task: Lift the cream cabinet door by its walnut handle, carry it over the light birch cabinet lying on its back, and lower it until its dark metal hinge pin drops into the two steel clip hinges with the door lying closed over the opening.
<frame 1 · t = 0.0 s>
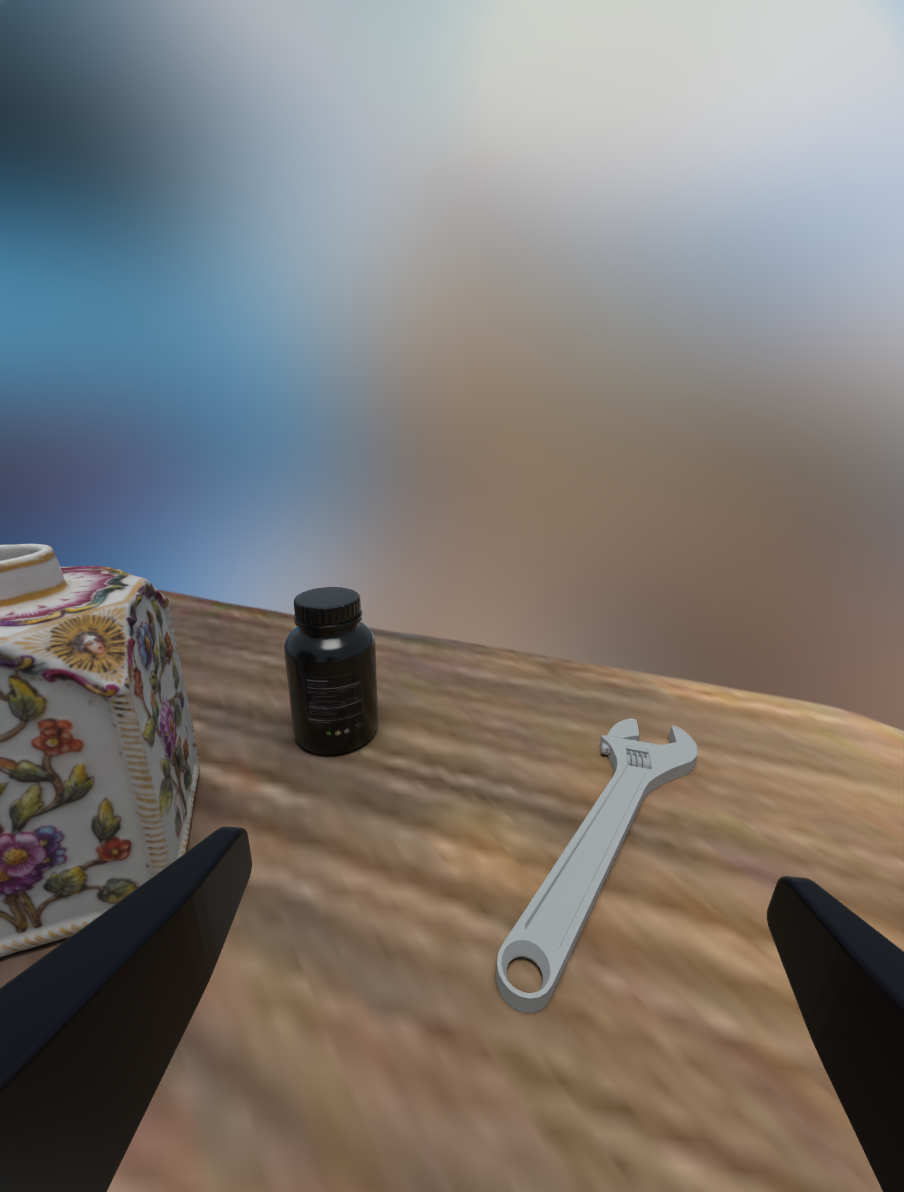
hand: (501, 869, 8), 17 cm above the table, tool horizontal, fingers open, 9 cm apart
decorative jar: (81, 856, 27), on the table
adjustable wrench: (598, 825, 30), on the table
supplement bottle: (336, 733, 38), on the table
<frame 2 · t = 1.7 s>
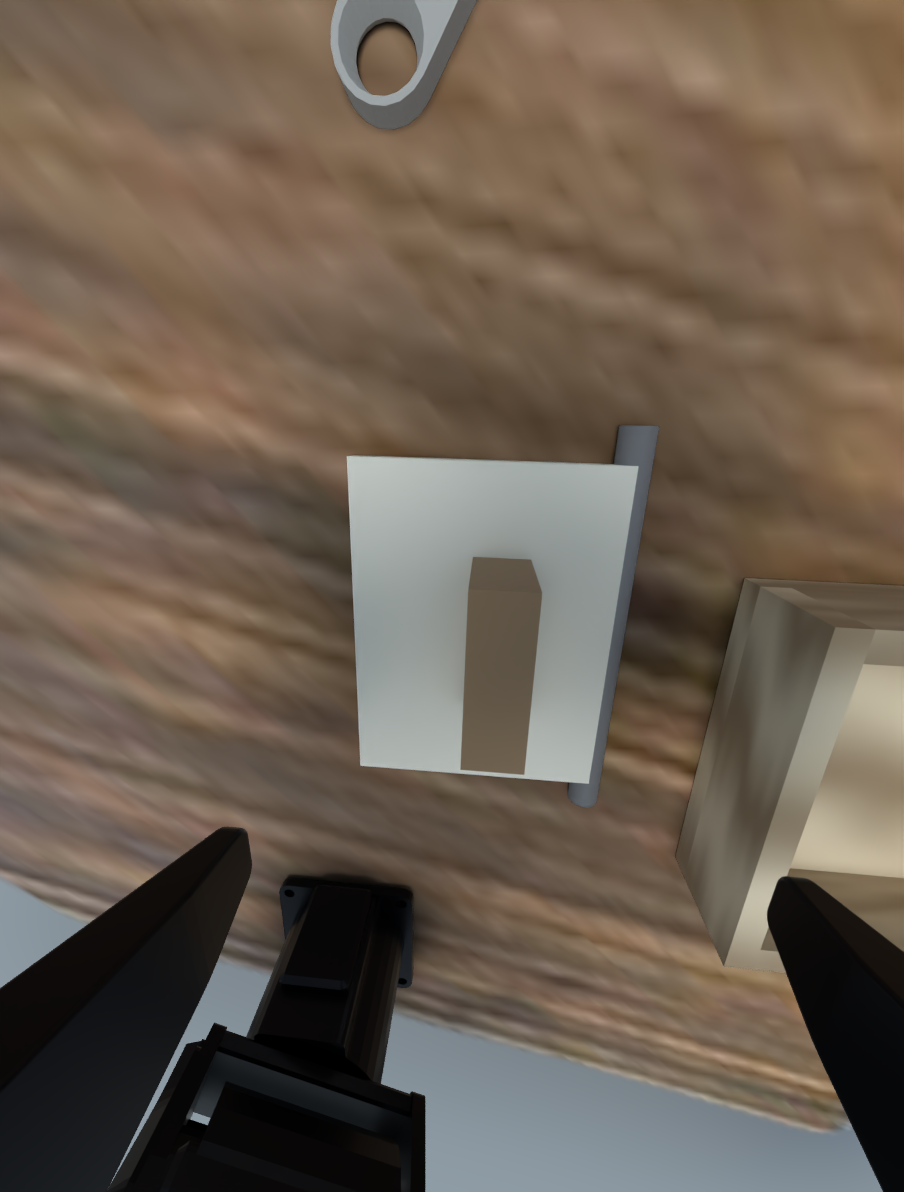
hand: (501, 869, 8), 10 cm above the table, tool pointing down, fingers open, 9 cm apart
cabinet door: (485, 624, 18), on the table
cabinet: (837, 742, 18), on the table
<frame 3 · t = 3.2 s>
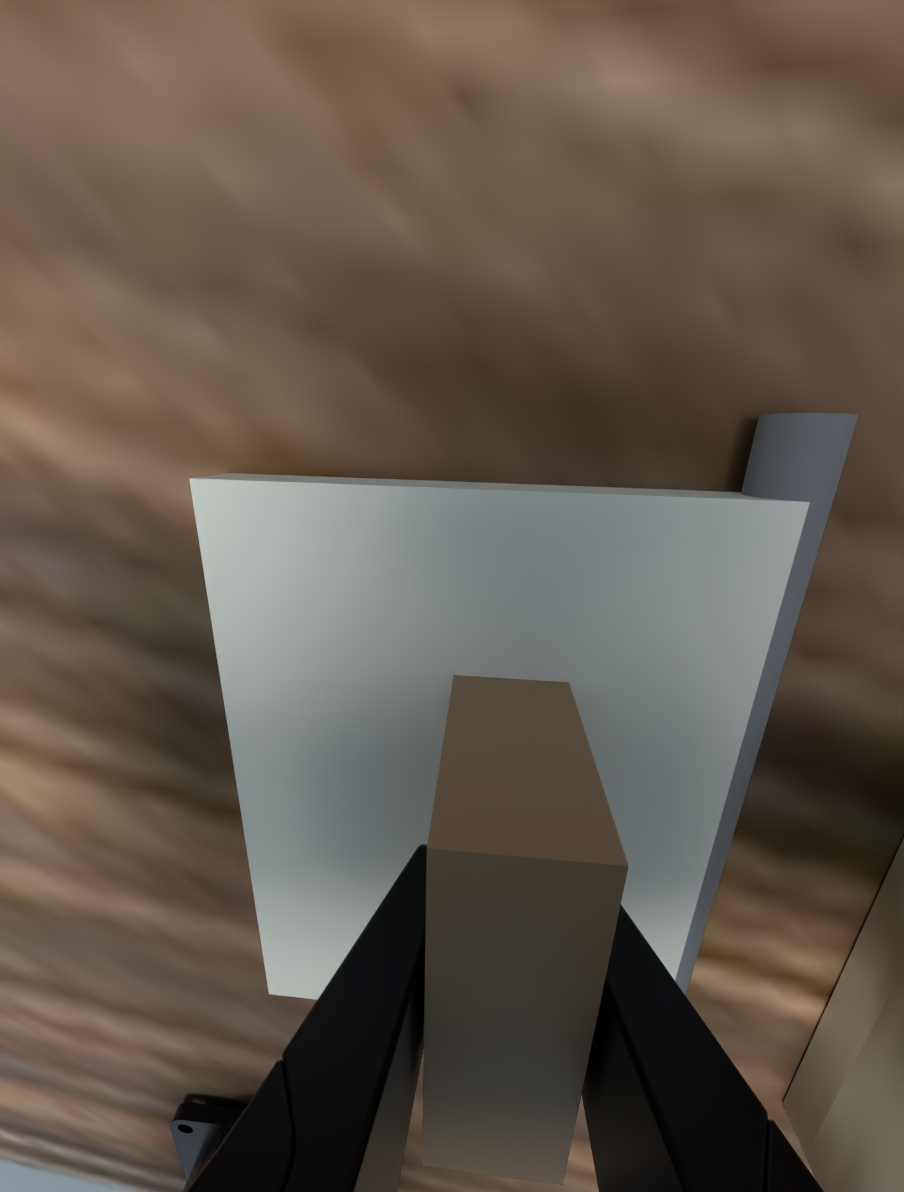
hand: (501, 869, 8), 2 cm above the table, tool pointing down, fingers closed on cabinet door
cabinet door: (480, 770, 10), on the table, touching gripper
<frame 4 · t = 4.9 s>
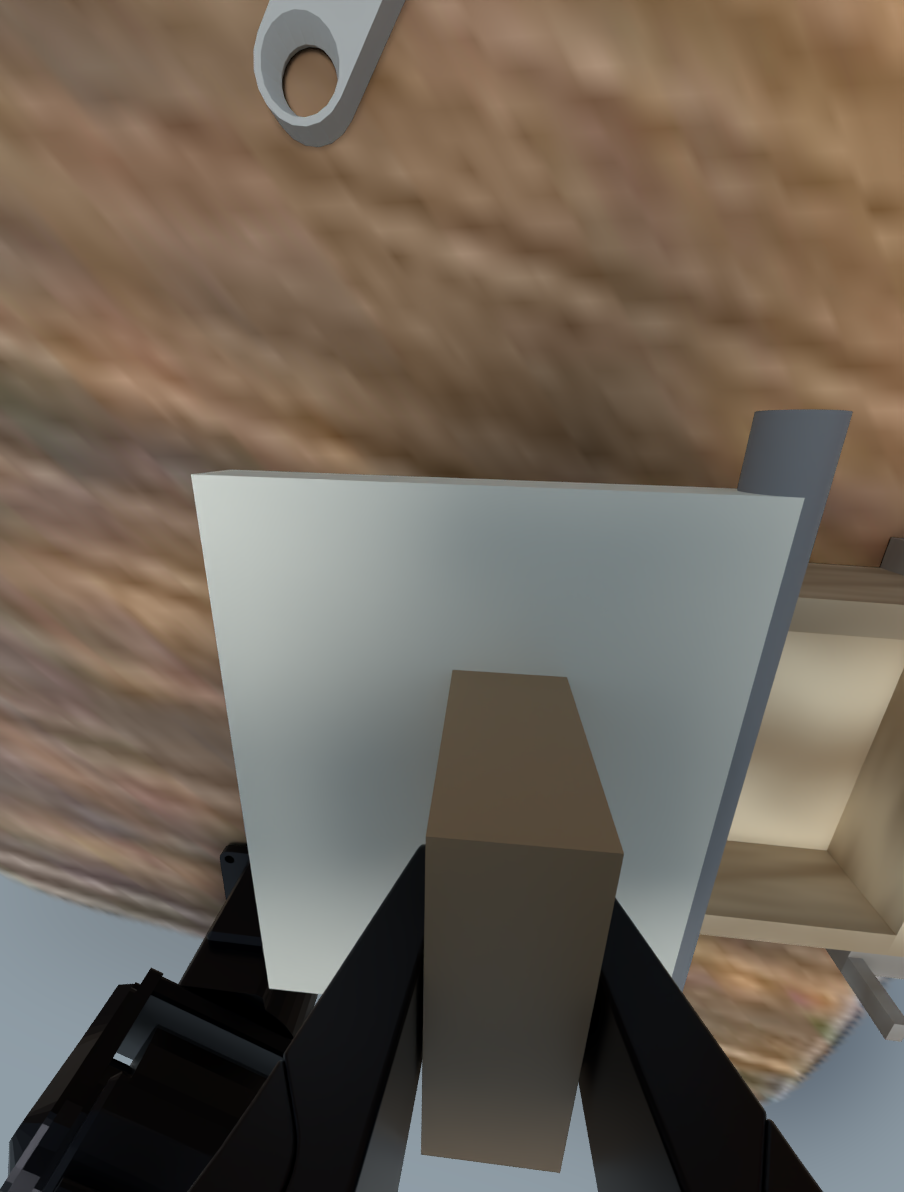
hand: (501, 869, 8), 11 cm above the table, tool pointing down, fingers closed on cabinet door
cabinet door: (479, 766, 10), point 9 cm above the table, touching gripper
cabinet: (750, 716, 19), on the table
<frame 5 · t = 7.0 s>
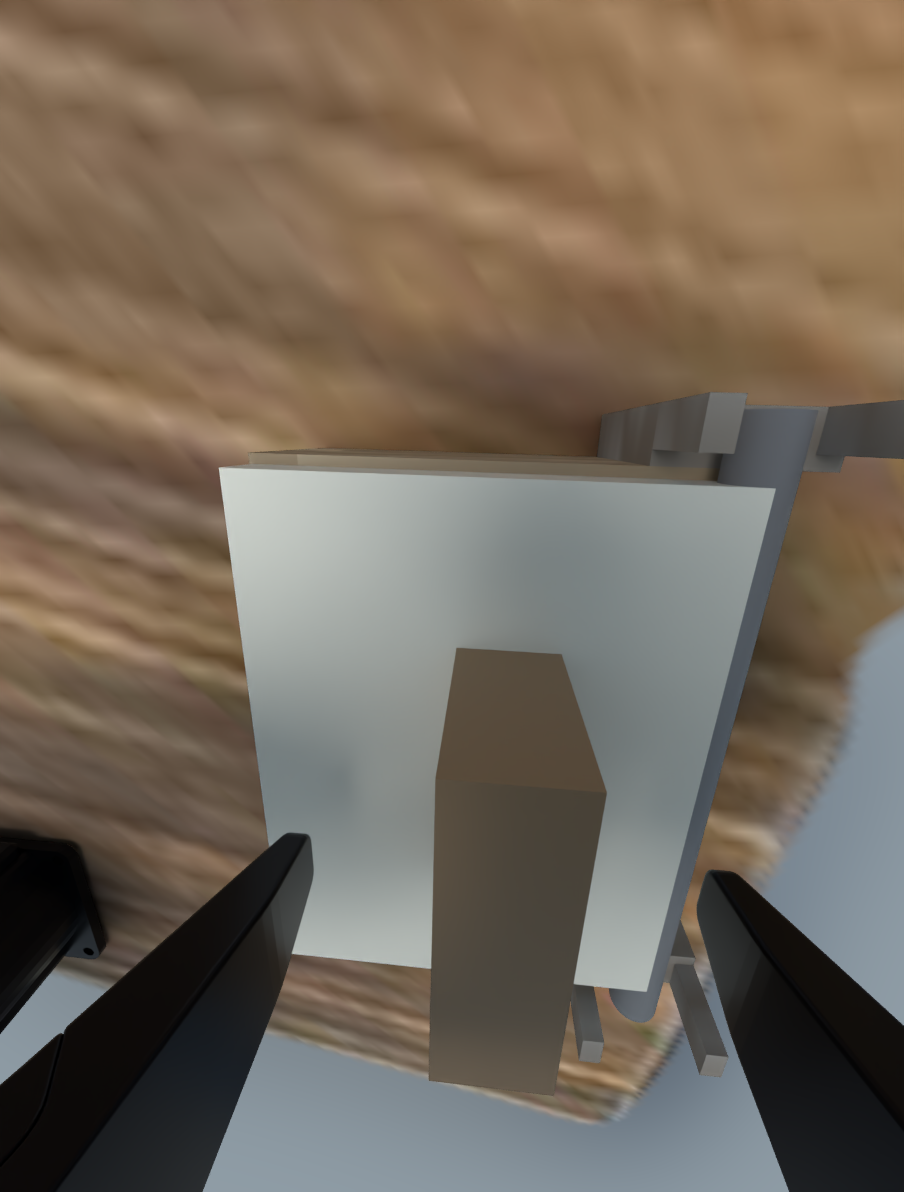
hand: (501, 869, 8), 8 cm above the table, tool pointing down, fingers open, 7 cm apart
cabinet door: (480, 741, 11), point 4 cm above the table, touching cabinet
cabinet: (484, 658, 15), on the table
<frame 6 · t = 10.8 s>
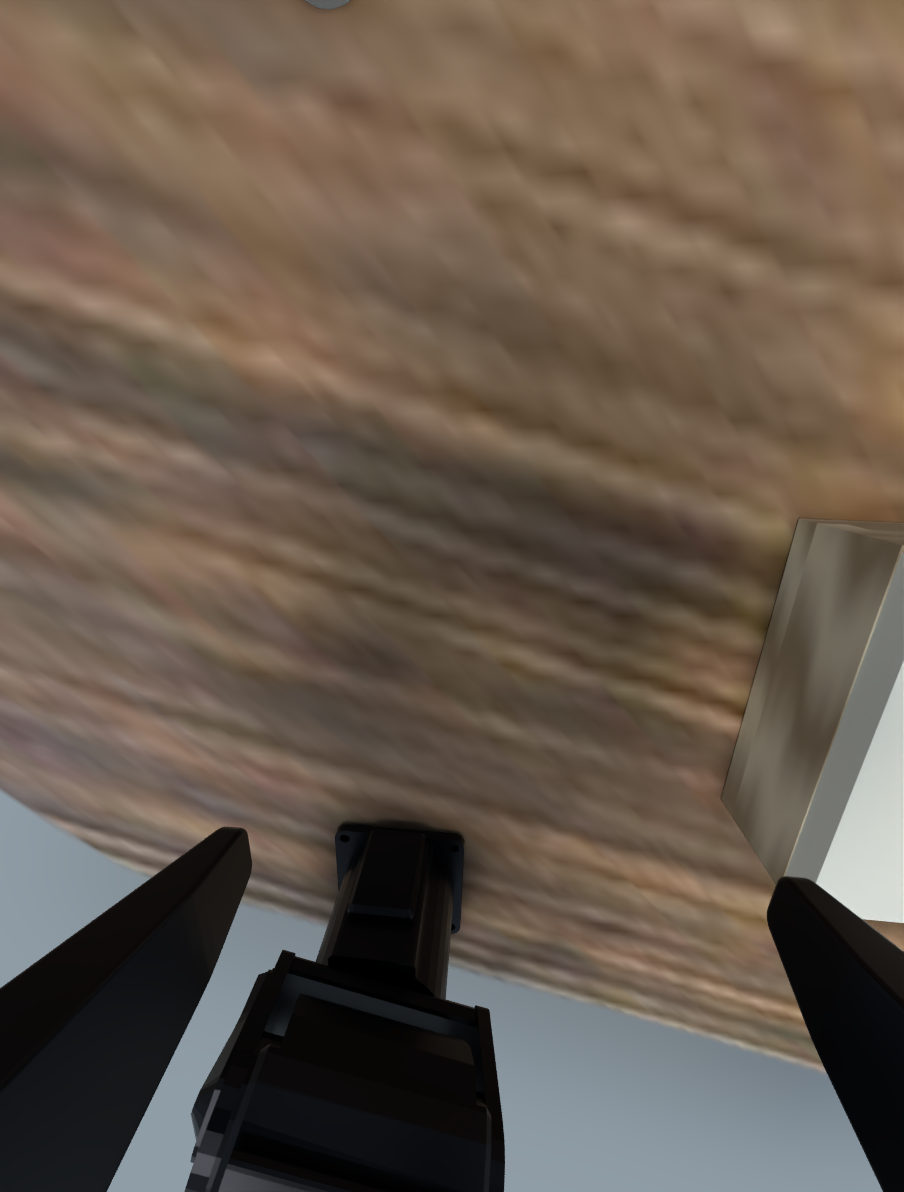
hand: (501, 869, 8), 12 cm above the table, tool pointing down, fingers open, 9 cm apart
cabinet: (882, 682, 19), on the table
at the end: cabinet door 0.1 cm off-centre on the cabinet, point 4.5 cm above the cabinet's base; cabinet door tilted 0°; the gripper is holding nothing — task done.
